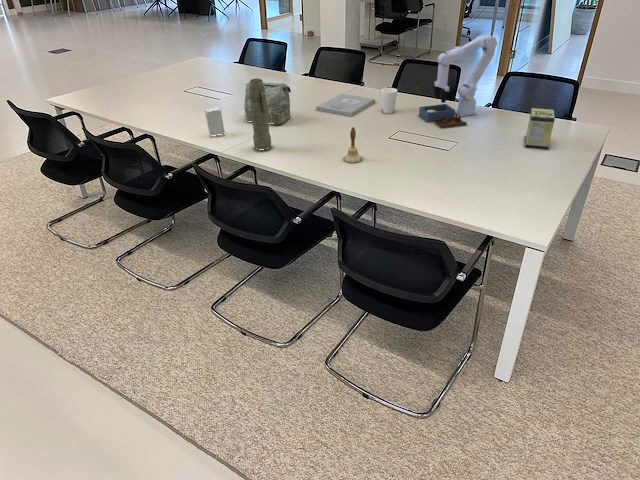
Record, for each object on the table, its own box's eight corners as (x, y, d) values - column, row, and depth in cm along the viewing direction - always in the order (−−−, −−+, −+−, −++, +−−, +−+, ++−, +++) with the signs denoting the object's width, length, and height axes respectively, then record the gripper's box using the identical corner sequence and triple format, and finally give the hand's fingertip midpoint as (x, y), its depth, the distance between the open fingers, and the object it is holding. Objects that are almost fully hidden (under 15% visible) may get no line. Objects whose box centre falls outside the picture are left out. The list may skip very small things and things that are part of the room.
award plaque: (316, 110, 302) (316, 106, 301) (341, 96, 323) (341, 93, 322) (350, 116, 290) (350, 112, 289) (374, 102, 311) (374, 98, 310)
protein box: (546, 138, 252) (553, 108, 244) (548, 149, 240) (555, 119, 231) (525, 136, 255) (531, 107, 247) (525, 147, 243) (531, 117, 234)
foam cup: (395, 114, 290) (396, 92, 283) (379, 114, 292) (380, 92, 285) (396, 109, 298) (397, 88, 291) (381, 109, 300) (382, 87, 293)
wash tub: (445, 112, 290) (445, 103, 287) (454, 118, 281) (455, 109, 278) (418, 115, 287) (419, 106, 284) (427, 122, 278) (428, 113, 275)
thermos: (264, 153, 248) (256, 84, 229) (249, 148, 255) (241, 80, 236) (277, 148, 253) (271, 79, 234) (262, 143, 260) (255, 75, 241)
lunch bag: (295, 117, 293) (293, 80, 281) (282, 127, 279) (279, 88, 267) (257, 113, 301) (253, 76, 289) (242, 122, 287) (238, 85, 275)
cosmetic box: (223, 132, 275) (219, 106, 267) (225, 135, 271) (221, 109, 263) (208, 134, 273) (204, 108, 265) (210, 138, 268) (205, 111, 260)
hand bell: (344, 156, 242) (343, 124, 233) (361, 155, 242) (361, 124, 233) (344, 163, 235) (344, 131, 226) (361, 162, 235) (362, 130, 226)
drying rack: (458, 119, 279) (459, 111, 277) (466, 125, 272) (467, 117, 269) (434, 122, 277) (435, 114, 274) (441, 128, 269) (442, 120, 267)
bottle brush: (444, 116, 286) (444, 110, 286) (447, 114, 283) (446, 108, 283) (425, 116, 284) (424, 111, 284) (427, 114, 281) (427, 109, 281)
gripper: (430, 73, 278) (428, 97, 286) (441, 80, 266) (439, 105, 274) (441, 72, 280) (439, 96, 287) (453, 79, 268) (451, 103, 275)
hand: (440, 100), depth 280 cm, fingers open, 7 cm apart
